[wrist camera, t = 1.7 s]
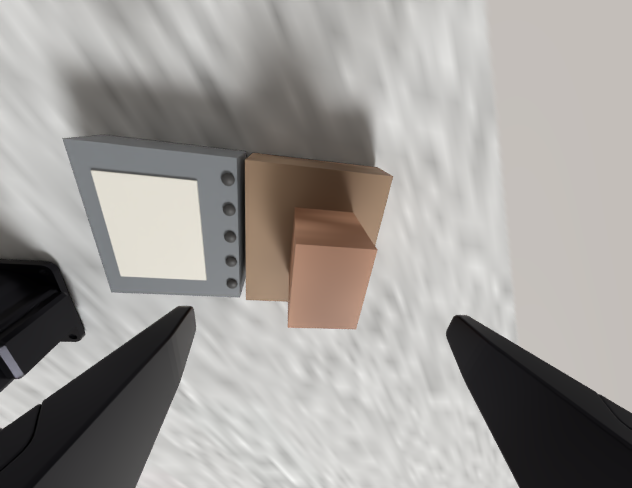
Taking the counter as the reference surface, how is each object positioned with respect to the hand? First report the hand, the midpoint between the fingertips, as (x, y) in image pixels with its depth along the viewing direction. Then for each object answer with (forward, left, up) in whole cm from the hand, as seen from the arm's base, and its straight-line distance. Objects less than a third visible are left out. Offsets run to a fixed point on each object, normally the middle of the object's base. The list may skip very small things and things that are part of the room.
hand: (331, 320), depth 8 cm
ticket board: (-8, 0, -8) cm, 11 cm away
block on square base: (0, 0, -8) cm, 8 cm away
